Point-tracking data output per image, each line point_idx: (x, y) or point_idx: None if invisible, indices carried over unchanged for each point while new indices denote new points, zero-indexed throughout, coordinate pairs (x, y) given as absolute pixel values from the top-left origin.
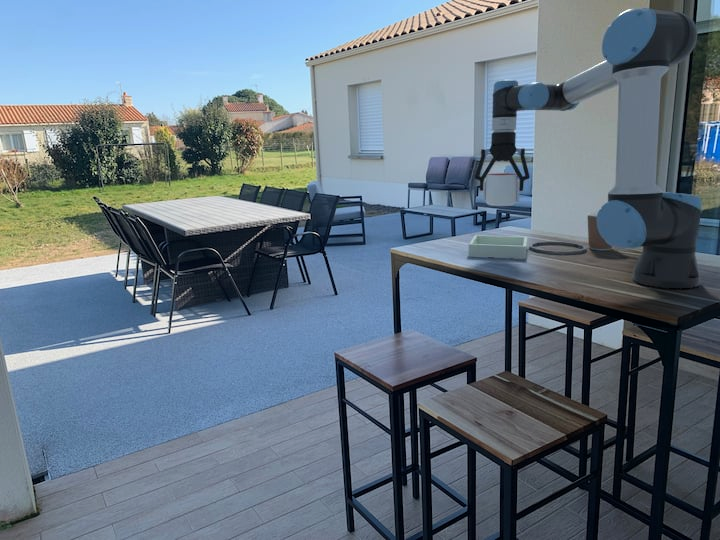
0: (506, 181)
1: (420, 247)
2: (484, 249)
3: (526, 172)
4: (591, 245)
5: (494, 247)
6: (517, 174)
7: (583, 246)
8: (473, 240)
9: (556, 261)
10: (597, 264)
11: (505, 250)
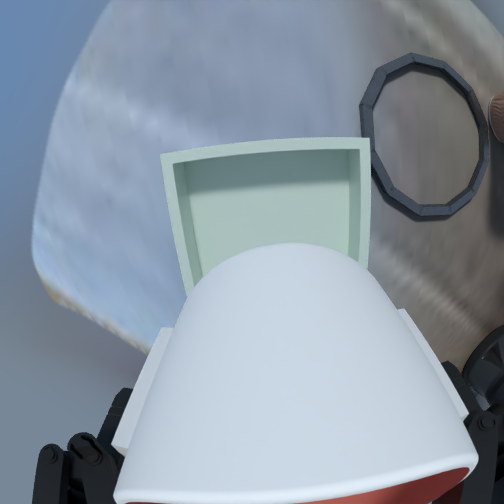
0: (333, 501)
1: (55, 228)
2: None
3: (495, 479)
4: (497, 130)
5: None
6: (437, 498)
7: (484, 132)
8: (187, 266)
9: (414, 293)
10: (470, 291)
11: None
